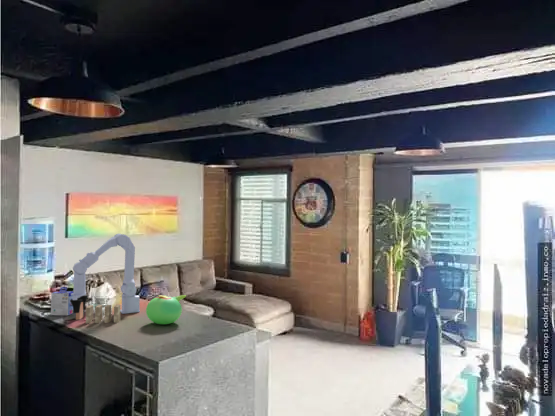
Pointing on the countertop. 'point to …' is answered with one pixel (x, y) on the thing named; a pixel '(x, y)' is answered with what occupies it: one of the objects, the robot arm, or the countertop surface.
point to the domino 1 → (80, 312)
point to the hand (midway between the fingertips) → (79, 311)
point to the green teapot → (164, 309)
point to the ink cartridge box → (61, 302)
